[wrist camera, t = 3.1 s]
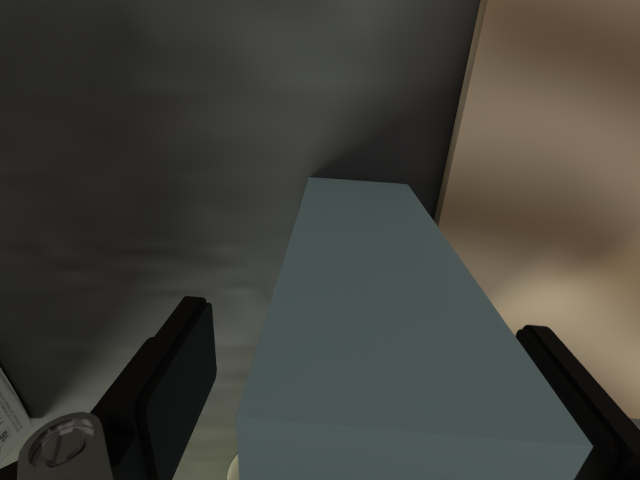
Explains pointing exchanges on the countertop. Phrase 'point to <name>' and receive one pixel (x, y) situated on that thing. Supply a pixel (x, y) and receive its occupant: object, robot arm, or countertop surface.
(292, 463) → the slab
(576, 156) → the mat
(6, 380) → the tea box
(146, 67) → the countertop surface
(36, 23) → the countertop surface
